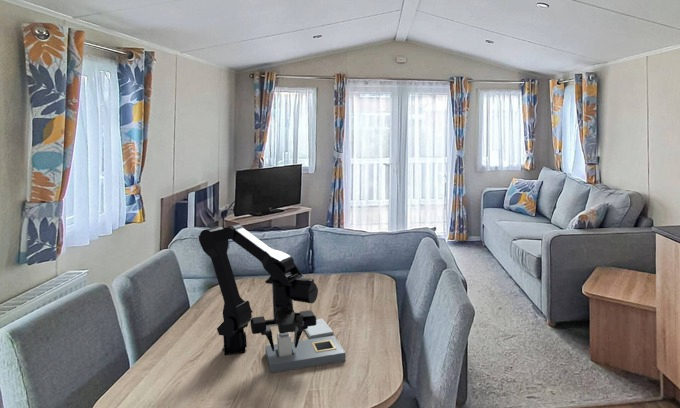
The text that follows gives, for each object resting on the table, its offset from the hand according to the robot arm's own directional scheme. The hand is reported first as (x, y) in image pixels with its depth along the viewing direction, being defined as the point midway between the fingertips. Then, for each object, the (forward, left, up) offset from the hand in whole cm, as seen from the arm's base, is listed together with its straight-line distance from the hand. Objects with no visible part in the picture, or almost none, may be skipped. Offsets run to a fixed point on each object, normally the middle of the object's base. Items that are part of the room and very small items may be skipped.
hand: (284, 349), depth 127 cm
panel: (+6, 0, -4) cm, 7 cm away
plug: (0, 0, -4) cm, 4 cm away
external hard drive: (+14, +18, -4) cm, 23 cm away
